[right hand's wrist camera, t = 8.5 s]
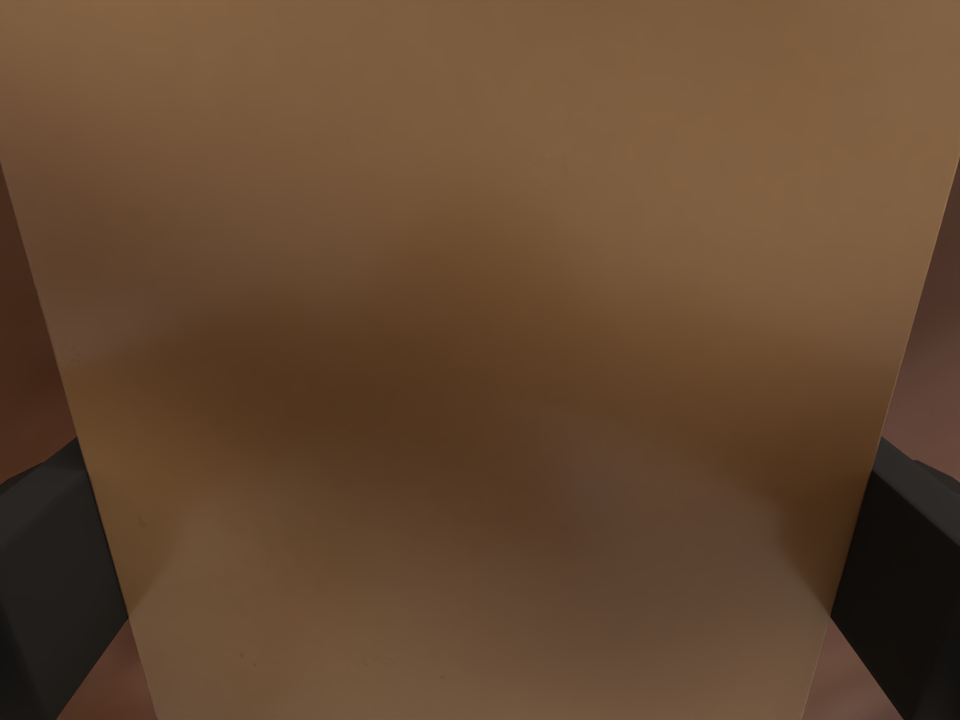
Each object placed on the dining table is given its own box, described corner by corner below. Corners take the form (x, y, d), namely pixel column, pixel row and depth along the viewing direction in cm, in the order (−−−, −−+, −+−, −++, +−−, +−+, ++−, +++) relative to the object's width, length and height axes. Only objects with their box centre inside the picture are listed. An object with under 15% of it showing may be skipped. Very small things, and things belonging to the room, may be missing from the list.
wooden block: (260, -16, 15) (-127, -278, 5) (697, -16, 15) (1084, -277, 5) (314, 445, 20) (160, 738, 10) (644, 444, 20) (798, 736, 10)
